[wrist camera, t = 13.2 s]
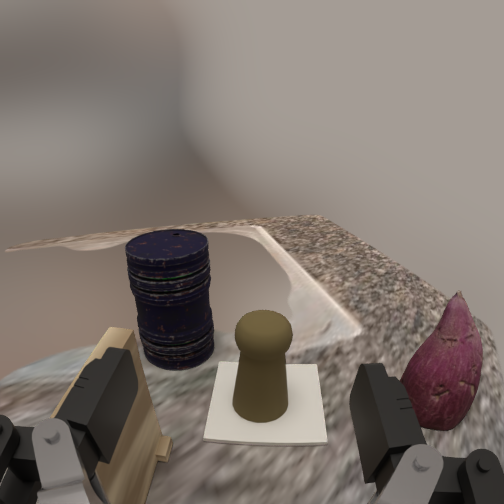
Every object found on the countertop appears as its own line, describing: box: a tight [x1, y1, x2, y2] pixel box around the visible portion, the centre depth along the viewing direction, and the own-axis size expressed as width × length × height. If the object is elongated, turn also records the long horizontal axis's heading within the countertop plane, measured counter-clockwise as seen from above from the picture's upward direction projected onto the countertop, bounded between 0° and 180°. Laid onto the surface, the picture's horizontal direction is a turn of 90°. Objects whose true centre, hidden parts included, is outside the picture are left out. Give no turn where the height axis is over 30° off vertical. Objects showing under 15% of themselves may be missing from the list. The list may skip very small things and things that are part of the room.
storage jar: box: [125, 229, 214, 370], centre depth 39 cm, size 10×10×15 cm
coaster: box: [203, 361, 327, 446], centre depth 33 cm, size 12×12×1 cm
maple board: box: [50, 327, 173, 504], centre depth 19 cm, size 4×13×14 cm, turn 177°
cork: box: [232, 310, 293, 423], centre depth 30 cm, size 6×6×11 cm
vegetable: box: [400, 290, 483, 430], centre depth 30 cm, size 10×10×15 cm
